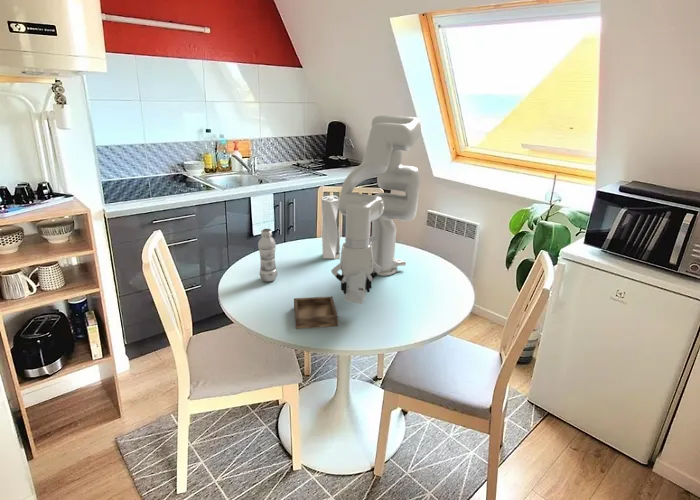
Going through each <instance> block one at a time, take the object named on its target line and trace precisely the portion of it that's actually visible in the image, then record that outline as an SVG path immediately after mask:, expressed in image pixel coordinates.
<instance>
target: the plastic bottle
mask: <svg viewBox="0 0 700 500" xmlns="http://www.w3.org/2000/svg"><path fill="white" fill-rule="evenodd" d="M260 232H261V234H260V236H261V237H260V239H259V241H258V243H257V247H258V251H259V258H260V268H259V277H260V280H261V281H262V282H267V283H269V282H273V281H275V280H276V279H277V276H278V270H277V267H276V245H277V243H276V241H275V239H274V237H272V236H273V233H272V229H271V228H263V229H261V231H260Z"/></svg>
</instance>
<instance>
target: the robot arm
mask: <svg viewBox="0 0 700 500" xmlns="http://www.w3.org/2000/svg"><path fill="white" fill-rule="evenodd" d="M421 127H422V125H421V122H420V120H419V119H418V118H417V117H415V116H405V115H404V116H403V115H402V116H401V115H400V116H399V115H393V114H392V115H391V114H388V115H387V114H383V115H382V114H381V115H377V116H374V117H373V118H372V120H371V128H370V130H369V136H368V139H367V142H366V147H365V151H364V155H363V159H362V162H361V164H359V165H358V166H357V167H355V168H354V169H353V170H351V172H350V173H349V174H348V175H347V176H346V178H345V179H344V181H343V183H342V185H341V186H342V187H341V190H340V195H339V197H338V198H339V205H338V206H339V207H338V212H339V213H340V214H341V215H342V216H345V237H344V238H345V239H344V242H343V243H342V246H341V249H340V259H339V260H340V261H339V262H340V263H338V264H336V266H334V267H333V268H331V273H332V276H334V277H335V278H336V279H337V280H338V281H340V290H341V291H342V292H343V295H346V279H347V277H348V276H356V275H358V273H359V271H360V270H365V275H367V284H366V293H370V292H371V289H372V285H373V284H372V282H373V281H374V279H375V278H376V277H377V276H380V277H382V276H384V277H385V276H387V277H388V276H392V275H393V274H395V273H397V272H398V267H399V266H401V267H403V266H406V260H402V259H400V258H397V259H396V258H395V253H396V239H397V237H396V236H397V227H396V224H395V223H394V221H393V220H395V221H403V222H411V221H414V220H415V218H416V216H417V211H418V203H419V202H418V201H419V195H420V184H421V172H420V171H419V168H418V167H415V166H412V165H403V164H402V161H403V151H409V150H412V148H413V147H414V145H415V144H416V143H417V141H418V139H419V137H420V134H421V129H422V128H421ZM375 177H376V181H377V186H378V187H379V188H380V189H383V190H389V191H397V192H404V193H405V194H397V193H389V192H378V193H376V194H374V195H372V194H366V193H359V192H358V193H357V192H354V191H353V190H354V189H355V188H356V186H358V185H359V184H360V183H362V182H364V181H366V180H369V179H373V178H375ZM340 270H341V274H340V273H339V271H340Z"/></svg>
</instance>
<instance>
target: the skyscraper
mask: <svg viewBox="0 0 700 500" xmlns="http://www.w3.org/2000/svg"><path fill="white" fill-rule="evenodd" d="M339 198H340V197H338V196H337V195H325V196H322V197H321V198H320V199H321V213H322V220H323V223H322V235H321V236H322V237H321V238H322V239H321V240H322V241H321V242H322V245H321V246H322V259H323V260H340V259H341V236H340V226H337V225H338V224H337V218H338V212H339V206H338V205H339Z"/></svg>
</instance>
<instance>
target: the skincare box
mask: <svg viewBox="0 0 700 500" xmlns="http://www.w3.org/2000/svg"><path fill="white" fill-rule="evenodd" d="M366 284H367V275H365V270H360V271H359V273H358V275H356V276H348V277H347V279H346V294H344V295H345V298H344V300H345V302H350V303H354V304H359V305H362V304H363V303H364V301H365V300H366V297H367V296H366V295H367V290H366Z"/></svg>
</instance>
